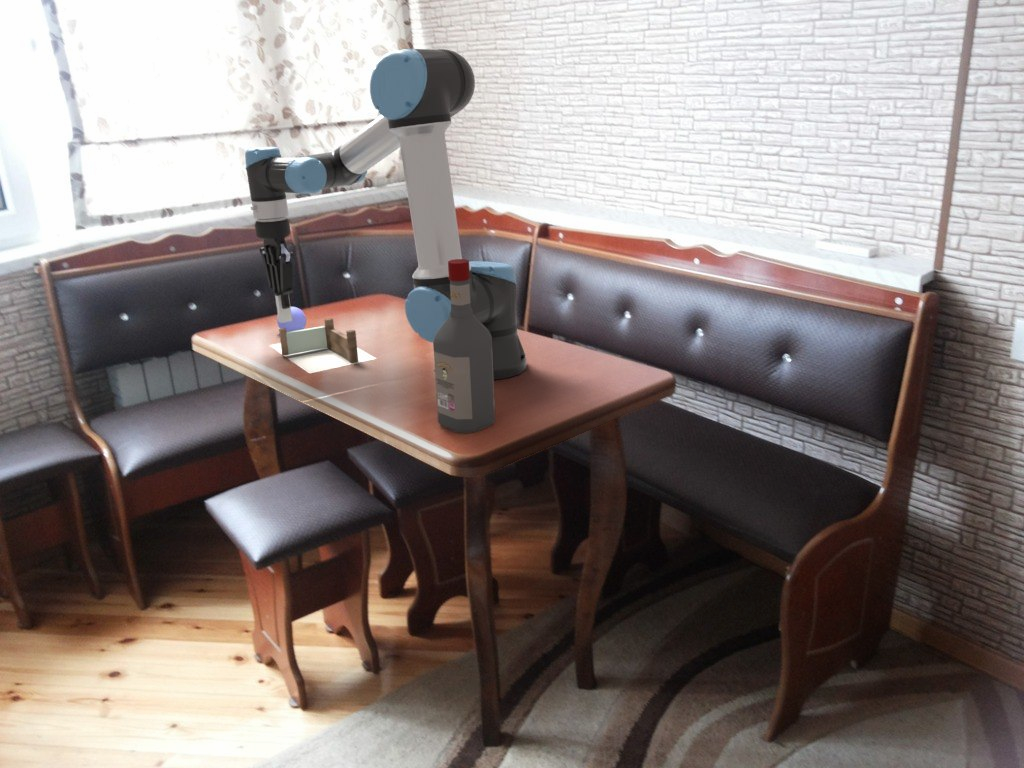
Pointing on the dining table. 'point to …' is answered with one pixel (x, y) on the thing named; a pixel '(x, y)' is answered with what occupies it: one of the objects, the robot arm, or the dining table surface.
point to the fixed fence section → (341, 341)
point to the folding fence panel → (302, 340)
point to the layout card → (321, 359)
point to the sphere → (294, 321)
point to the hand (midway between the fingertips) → (285, 321)
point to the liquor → (463, 361)
